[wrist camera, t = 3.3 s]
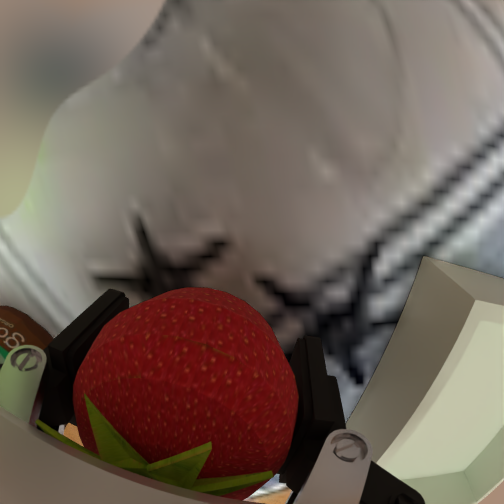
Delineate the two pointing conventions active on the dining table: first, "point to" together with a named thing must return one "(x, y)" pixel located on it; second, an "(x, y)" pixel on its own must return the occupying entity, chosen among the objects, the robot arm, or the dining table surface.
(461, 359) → the serving tray
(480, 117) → the dining table surface
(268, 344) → the strawberry
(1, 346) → the food container
